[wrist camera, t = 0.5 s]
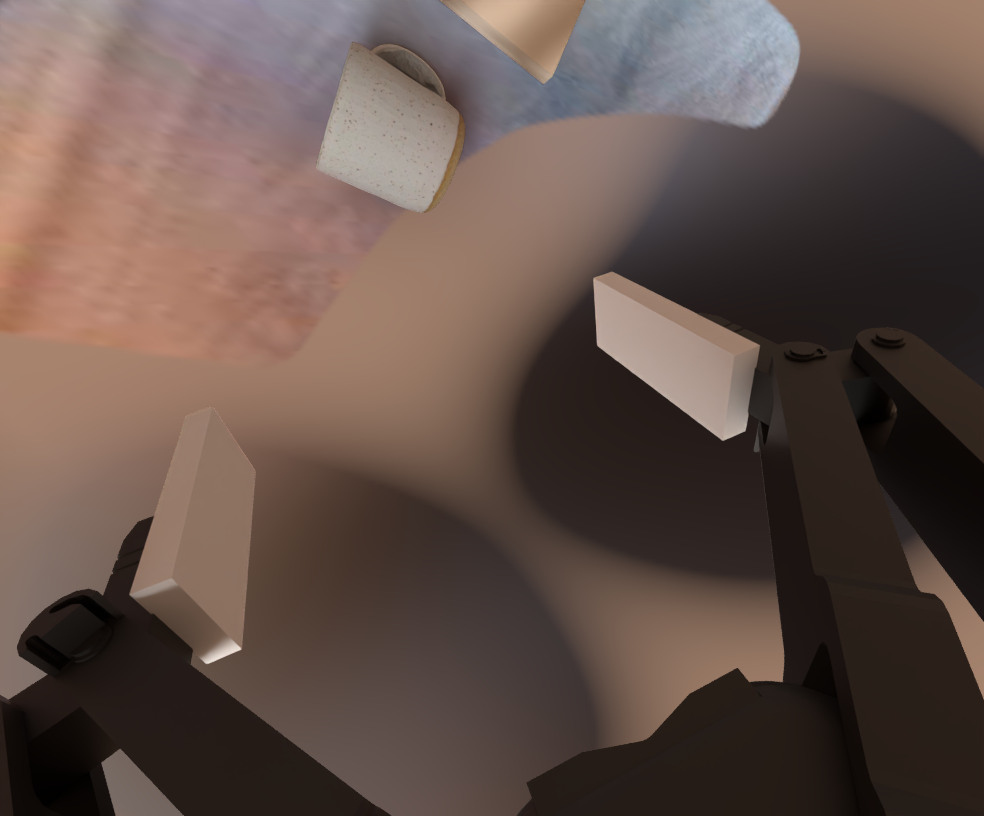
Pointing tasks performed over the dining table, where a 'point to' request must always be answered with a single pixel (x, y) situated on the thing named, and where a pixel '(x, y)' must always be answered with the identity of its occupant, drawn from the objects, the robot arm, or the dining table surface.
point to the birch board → (523, 28)
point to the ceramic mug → (392, 129)
